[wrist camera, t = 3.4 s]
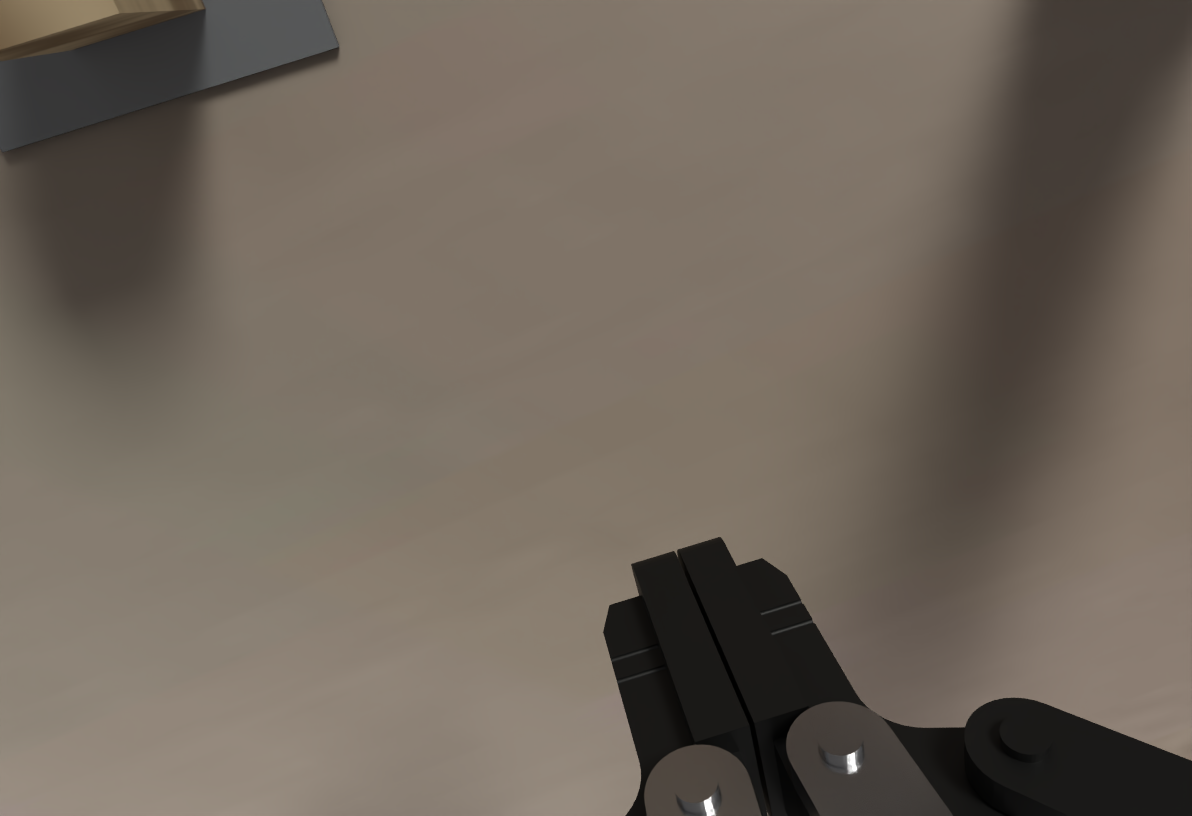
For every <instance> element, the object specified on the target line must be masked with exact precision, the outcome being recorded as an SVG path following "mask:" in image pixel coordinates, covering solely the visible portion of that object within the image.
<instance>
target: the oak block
mask: <svg viewBox="0 0 1192 816" xmlns="http://www.w3.org/2000/svg"><path fill="white" fill-rule="evenodd" d="M204 9H206V8H205V6H204V3H203V1H202V0H0V61H6V60H12V59H19V58H25V57H32V56H38V55H45V54H51V53H58V52H64V51H71V50H74V49H78V48H81V47H84V46H87V45H91V44H94V43H97V42H100V41H104V40H107V39H110V38H113V37H117V36H120V35H123V34H126V33H130V32H133V31H136V30H139V29H143V28H146V27H149V26H152V25H156V24H159V23H162V22H165V21H169V20H172V19H175V18H178V17H182V16H185V15H188V14H191V13H195V12H198V11H201V10H204Z"/></svg>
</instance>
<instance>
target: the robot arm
mask: <svg viewBox="0 0 1192 816" xmlns="http://www.w3.org/2000/svg"><path fill="white" fill-rule="evenodd" d="M677 555H678V557H677ZM677 555H676V553H675V552H674V551H673V552H669V553H666V554H663V555H659V556H656V557H653V558H650V559H646V560H643V561H640V562H636V563H633V564H631V566H632V570H633V574H634V578H635V582H636V585H637V589H638V593H639V596H638V597H635V598H631V599H628V600H625V601H621V602H618V603H615V604H612V605H609V610H608V614H607V618H606V622H605V627H604V631H603V633H604V636H605V640H606V644H607V647H608V651H609V654H610V658H611V661H612V665H613V669H614V672H615V676H616V680H617V683H618V687H619V690H620V694H621V697H622V701H623V705H624V708H625V712H626V715H627V719H628V723H629V726H630V730H631V733H632V737H633V741H634V744H635V748H636V751H637V755H638V759H639V762H640V767H641V783H640V789H639V792H638V795H637V798H636V800H635V802H634V804H633V806H632V807H631V809H630V810H629V812H628V813H627V815H626V816H767V812H768V815H769V816H1192V761H1191V760H1188V759H1185V758H1183V757H1180V756H1178V755H1175V754H1173V753H1170V752H1167V751H1165V750H1162V749H1160V748H1157V747H1155V746H1152V745H1149V744H1147V743H1144V742H1142V741H1139V740H1137V739H1134V738H1131V737H1129V736H1126V735H1124V734H1121V733H1119V732H1116V731H1113V730H1111V729H1108V728H1106V727H1103V726H1101V725H1098V724H1095V723H1093V722H1090V721H1088V720H1085V719H1083V718H1080V717H1077V716H1075V715H1072V714H1070V713H1067V712H1065V711H1062V710H1059V709H1057V708H1054V707H1052V706H1049V705H1047V704H1044V703H1041V702H1038V701H1035V700H1030V699H1024V698H1003V699H998V700H994V701H991V702H988V703H986V704H984V705H983V706H981V707H979V708H978V709H977V710H976V711H975V712H973V713H972V715H971V716H970V718H969V719H968V721H967V724H966V726H965V727H962V728H916V727H909V726H904V725H900V724H897V723H893V722H891V721H889V720H886V719H884V718H882V717H881V716H879V715H878V714H877V713H875V712H873V711H872V710H870V709H869V708H868V707H867V706H866V705H865V704H864V703H863V702H862V701H861V700H860V699H859V697H858V696H857V694H856V693H855V691H854V689H853V688H852V686H851V684H850V683H849V681H848V679H847V677H846V676H845V674H844V672H843V671H842V669H841V667H840V665H839V664H838V662H837V660H836V659H835V657H834V655H833V653H832V652H831V650H830V648H829V647H828V645H827V643H826V642H825V640H824V638H823V636H822V635H821V633H820V631H819V630H818V628H817V626H816V624H815V623H813V621H812V618H811V616H810V614H809V612H808V611H807V609H806V607H805V606H804V604H802V602H801V599H800V597H799V595H798V594H797V592H796V590H795V589H794V587H793V585H792V583H791V582H790V580H789V578H788V577H787V575H786V574H784V573H783V572H781V571H780V570H778V569H777V568H776V567H774V566H773V565H771V564H770V563H768V562H767V561H765V560H764V559H762V558H761V559H758V560H755V561H751V562H748V563H745V564H742V565H738V566H736V564H735V562H734V560H733V558H732V557H731V555H730V553H729V551H728V549H727V547H726V545H725V543H724V541H723V540H722V538H721V537H718V538H715V539H711V540H708V541H705V542H701V543H698V544H695V545H692V546H688V547H685V548H682V549H678V550H677ZM766 810H767V811H766Z"/></svg>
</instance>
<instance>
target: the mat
mask: <svg viewBox="0 0 1192 816" xmlns="http://www.w3.org/2000/svg"><path fill="white" fill-rule="evenodd" d="M202 1H203V3H204V6H205V8H206V9H204V10H201V11H198V12H195V13H191V14H188V15H185V16H182V17H178V18H175V19H172V20H169V21H165V22H162V23H159V24H156V25H152V26H149V27H146V28H143V29H139V30H136V31H133V32H130V33H126V34H123V35H120V36H117V37H113V38H110V39H107V40H104V41H100V42H97V43H94V44H91V45H87V46H84V47H81V48H78V49H74V50H71V51H64V52H58V53H51V54H45V55H38V56H32V57H25V58H19V59H12V60H6V61H0V149H1V151H2V152H5V151H9V150H12V149H15V148H18V147H21V146H25V145H28V144H31V143H34V142H37V141H41V140H44V139H47V138H50V137H53V136H56V135H60V134H63V133H66V132H69V131H72V130H76V129H79V128H82V127H85V126H88V125H92V124H95V123H98V122H101V121H104V120H108V119H111V118H114V117H117V116H120V115H124V114H127V113H130V112H133V111H136V110H139V109H143V108H146V107H149V106H152V105H155V104H159V103H162V102H165V101H168V100H171V99H175V98H178V97H181V96H184V95H187V94H191V93H194V92H197V91H200V90H203V89H207V88H210V87H213V86H216V85H219V84H222V83H226V82H229V81H232V80H235V79H238V78H242V77H245V76H248V75H251V74H254V73H258V72H261V71H264V70H267V69H270V68H274V67H277V66H280V65H283V64H286V63H290V62H293V61H296V60H299V59H302V58H305V57H309V56H312V55H315V54H318V53H321V52H325V51H328V50H331V49H334V48H337V47H339V44H338V41H337V39H336V36H335V34H334V31H333V28H332V26H331V23H330V21H329V18H328V15H327V13H326V10H325V7H324V5H323V2H322V0H202Z"/></svg>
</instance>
